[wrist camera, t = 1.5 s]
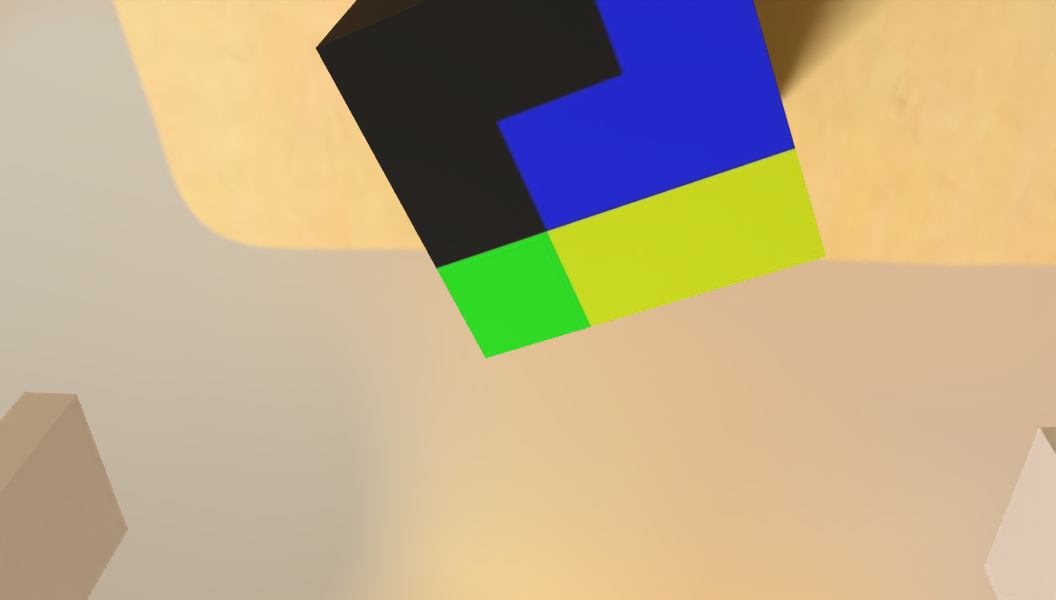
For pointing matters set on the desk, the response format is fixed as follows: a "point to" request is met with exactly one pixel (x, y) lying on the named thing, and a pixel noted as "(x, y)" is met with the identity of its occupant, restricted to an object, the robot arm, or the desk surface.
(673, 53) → the puzzle toy
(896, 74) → the desk surface
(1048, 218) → the desk surface
